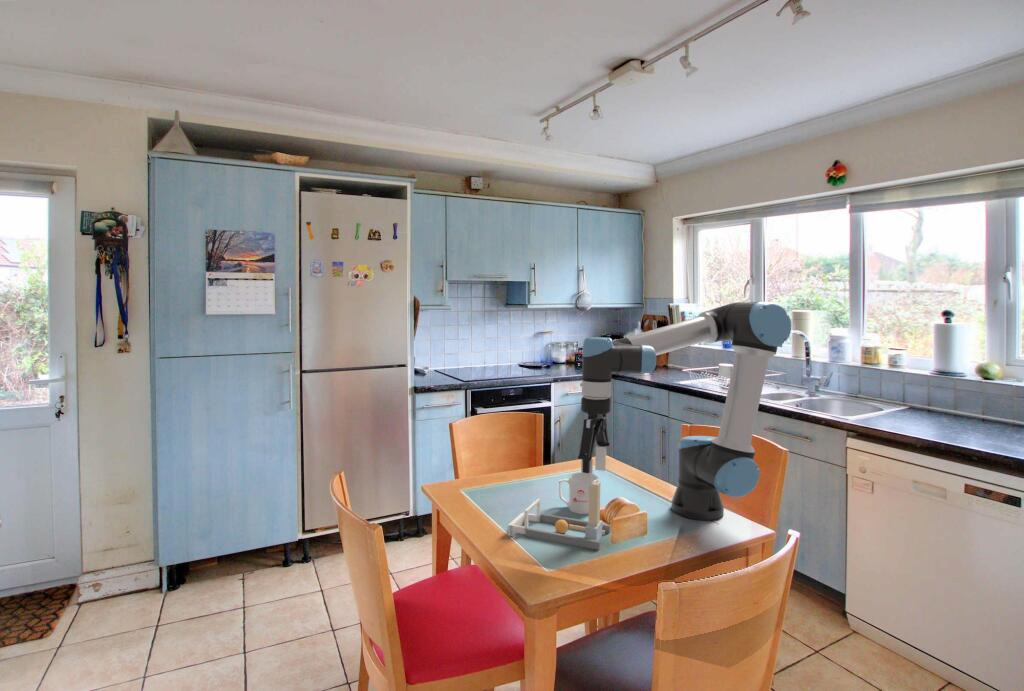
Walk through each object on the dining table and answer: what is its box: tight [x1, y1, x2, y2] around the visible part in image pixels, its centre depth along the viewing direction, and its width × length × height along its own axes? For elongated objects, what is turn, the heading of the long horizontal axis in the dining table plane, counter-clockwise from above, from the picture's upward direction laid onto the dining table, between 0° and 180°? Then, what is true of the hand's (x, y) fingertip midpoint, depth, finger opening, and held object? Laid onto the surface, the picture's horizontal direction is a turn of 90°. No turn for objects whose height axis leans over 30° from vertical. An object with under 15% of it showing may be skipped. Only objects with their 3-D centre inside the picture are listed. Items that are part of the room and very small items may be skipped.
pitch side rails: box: [525, 512, 611, 551], centre depth 147 cm, size 20×12×3 cm, turn 66°
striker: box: [584, 481, 603, 541], centre depth 144 cm, size 3×6×15 cm, turn 156°
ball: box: [554, 520, 569, 534], centre depth 148 cm, size 4×4×4 cm
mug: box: [558, 472, 600, 515], centre depth 165 cm, size 12×9×11 cm
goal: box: [507, 498, 542, 537], centre depth 152 cm, size 6×10×8 cm, turn 156°
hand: (593, 477), depth 143 cm, fingers open, 13 cm apart
